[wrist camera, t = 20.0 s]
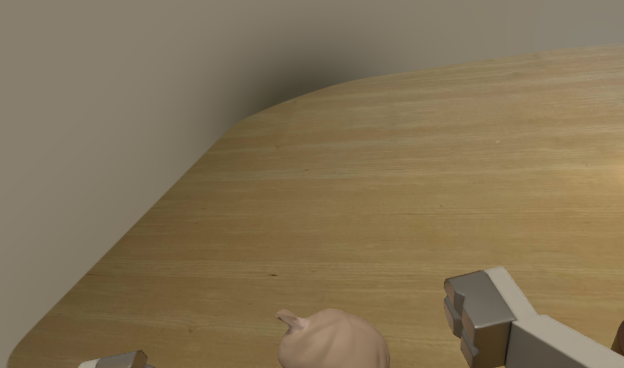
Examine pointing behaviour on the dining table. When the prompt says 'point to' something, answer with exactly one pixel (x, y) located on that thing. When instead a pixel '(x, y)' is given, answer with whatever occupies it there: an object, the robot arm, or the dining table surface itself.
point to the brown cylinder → (619, 341)
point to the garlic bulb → (331, 341)
